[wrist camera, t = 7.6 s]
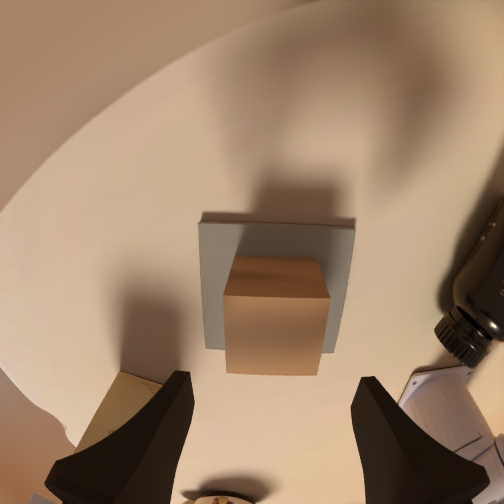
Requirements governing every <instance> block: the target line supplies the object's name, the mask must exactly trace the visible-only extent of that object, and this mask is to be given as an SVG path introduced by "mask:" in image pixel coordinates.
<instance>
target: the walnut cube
mask: <svg viewBox="0 0 504 504" xmlns="http://www.w3.org/2000/svg"><path fill="white" fill-rule="evenodd" d="M330 300H331V298H330V295H329V292H328V289H327V287H326V284H325V281H324V278H323V276H322V273H321V270H320V267H319V265H318V262H317V259H316V258H292V257H261V256H235V257H234V260H233V263H232V267H231V270H230V273H229V277H228V280H227V283H226V287H225V290H224V293H223V310H224V333H225V354H226V372H227V373H234V374H252V375H286V376H312V375H317V372H318V367H319V362H320V357H321V352H322V347H323V342H324V336H325V331H326V325H327V319H328V313H329V306H330Z"/></svg>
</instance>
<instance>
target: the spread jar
mask: <svg viewBox="0 0 504 504" xmlns="http://www.w3.org/2000/svg"><path fill="white" fill-rule="evenodd" d="M181 504H255V503H254V502H253V501H252V500H251V499H249V498H248V497H246V496H244V495H241V494H238V493H233V492H226V491H213V492H208V493H206V494H204V495H202V496H200V497H199V498H198V499H197V500H196V501H194V500H188V501H185V502H183V503H181Z"/></svg>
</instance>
